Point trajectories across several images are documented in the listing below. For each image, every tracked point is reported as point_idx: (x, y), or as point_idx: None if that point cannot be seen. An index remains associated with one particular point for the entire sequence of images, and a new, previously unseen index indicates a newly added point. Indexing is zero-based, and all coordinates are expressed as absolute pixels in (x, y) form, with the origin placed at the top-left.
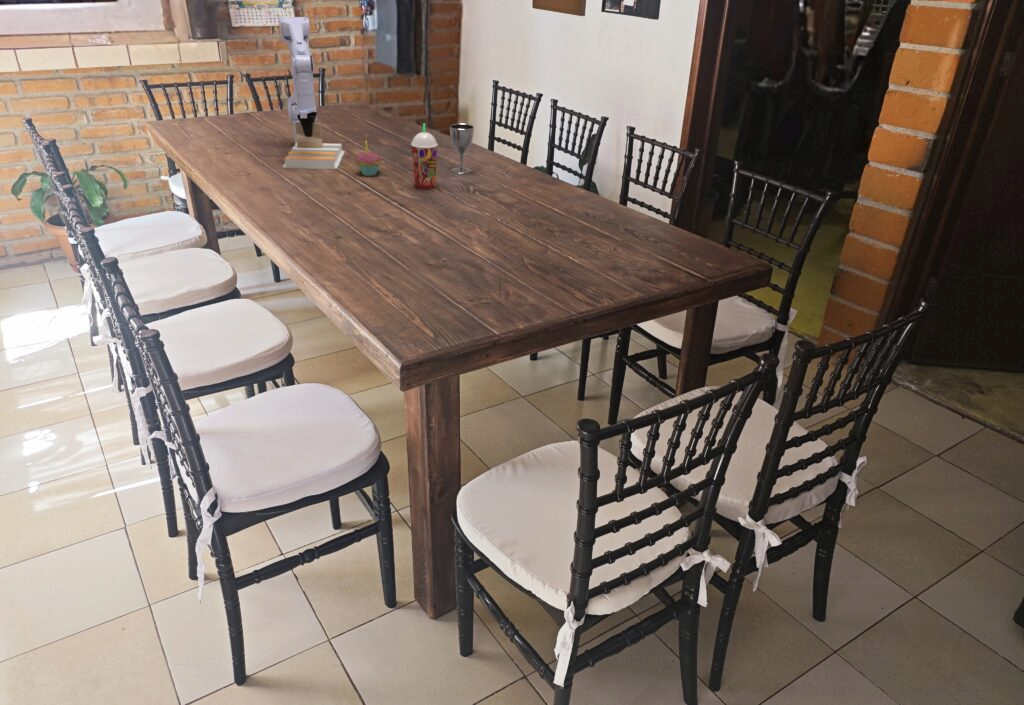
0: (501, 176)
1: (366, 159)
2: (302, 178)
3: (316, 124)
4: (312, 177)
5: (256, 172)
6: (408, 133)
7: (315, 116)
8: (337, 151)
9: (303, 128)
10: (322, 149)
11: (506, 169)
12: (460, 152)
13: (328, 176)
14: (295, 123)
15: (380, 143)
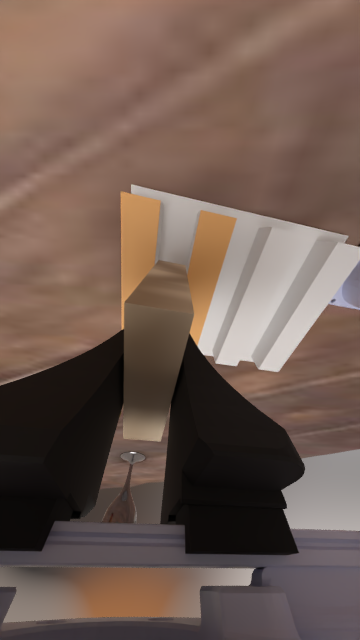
0: (113, 472)
1: None
2: (31, 258)
3: (124, 425)
4: (50, 286)
5: (51, 13)
6: (338, 439)
7: (164, 485)
8: (215, 359)
9: (105, 344)
10: (236, 330)
11: (139, 476)
12: (122, 490)
13: (69, 322)
14: (129, 304)
15: (300, 410)
